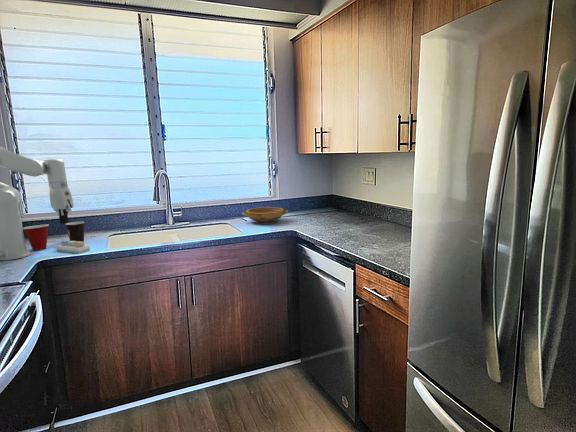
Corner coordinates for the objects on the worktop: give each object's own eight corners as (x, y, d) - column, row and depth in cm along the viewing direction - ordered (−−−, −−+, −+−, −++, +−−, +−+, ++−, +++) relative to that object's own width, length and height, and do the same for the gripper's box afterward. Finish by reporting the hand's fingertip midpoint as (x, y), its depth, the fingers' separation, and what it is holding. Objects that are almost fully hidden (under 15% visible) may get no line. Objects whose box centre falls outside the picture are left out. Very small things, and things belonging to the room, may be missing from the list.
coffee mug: (69, 240, 199) (67, 222, 197) (87, 238, 202) (85, 221, 200) (65, 245, 188) (62, 226, 187) (84, 243, 191) (81, 224, 190)
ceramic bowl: (241, 227, 222) (241, 214, 221) (242, 219, 246) (242, 207, 244) (290, 224, 225) (290, 212, 224) (286, 217, 249) (286, 206, 247)
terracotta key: (80, 247, 174) (79, 242, 174) (75, 246, 175) (74, 242, 175) (84, 245, 176) (83, 241, 176) (79, 245, 177) (79, 241, 177)
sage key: (73, 246, 176) (72, 242, 176) (68, 245, 177) (68, 241, 177) (77, 245, 178) (76, 241, 178) (72, 244, 179) (72, 240, 179)
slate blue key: (66, 245, 178) (65, 241, 177) (61, 245, 179) (61, 241, 179) (70, 244, 180) (70, 240, 179) (65, 243, 181) (65, 239, 181)
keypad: (79, 253, 173) (78, 248, 172) (57, 250, 178) (56, 245, 178) (90, 250, 178) (89, 245, 177) (68, 247, 184) (67, 243, 183)
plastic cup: (47, 245, 190) (44, 222, 188) (55, 248, 184) (52, 224, 181) (23, 249, 182) (19, 226, 180) (30, 253, 175) (26, 228, 173)
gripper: (76, 184, 175) (82, 222, 178) (55, 184, 180) (61, 221, 184) (61, 186, 168) (68, 225, 171) (39, 186, 174) (46, 224, 177)
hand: (64, 223), depth 178 cm, fingers closed
